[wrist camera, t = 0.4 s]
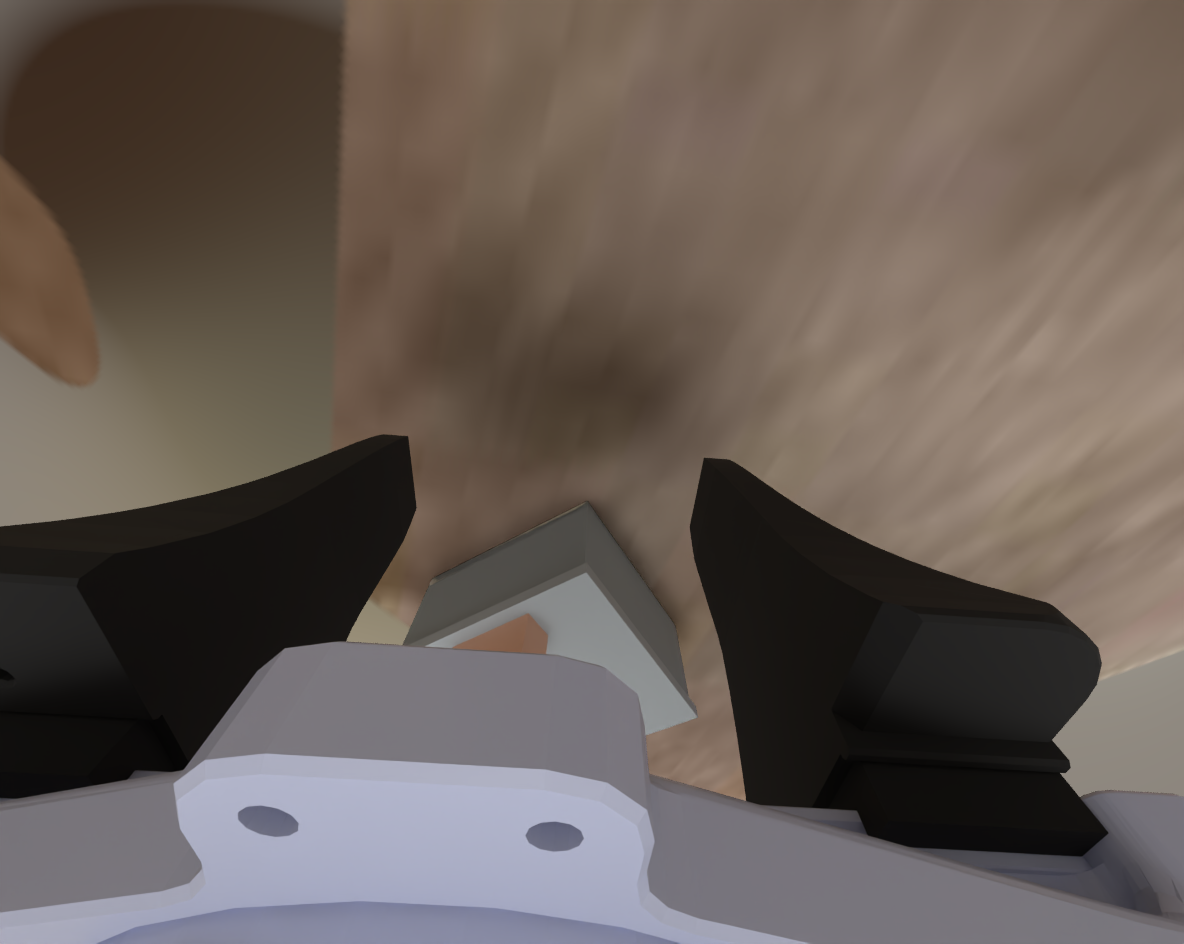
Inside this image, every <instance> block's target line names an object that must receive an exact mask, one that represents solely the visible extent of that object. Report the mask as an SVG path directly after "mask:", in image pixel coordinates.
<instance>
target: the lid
mask: <svg viewBox="0 0 1184 944" xmlns="http://www.w3.org/2000/svg"><path fill="white" fill-rule="evenodd" d="M409 646H425V647H441V648H456V649H472V650H488V651H504V652H520V653H536V654H552V655H560V656H564V657H568V658H572V659H576V660H580V661H584V662H588V663H592V664H596V665H600V666H602V667H604V668H606V669H607V670H609V671H610V672H611V673H612V674H614V675H615V676H616V677H617V678H618V679H620V680H621V681H622V682H623V683H625V684H626V685H627V686H628V687H629V688H631V689H632V690H633V691H634V692H636V693H637V694H638V697H639V702H640V706H641V711H642V715H643V720H644V725H645V735H648V734H651V733H654V732H657V731H660V730H663V729H666V728H669V727H672V726H675V725H677V724H680V723H683V722H686V721H689V720H692V719H695V718H698V715H697V710H696V706H695V705H694V703H693V702H692V701H691V699H690V698H689V697H688V695H687V694H686V693H685V691H684V690H683V689H682V687H681V686H680V685H679V683H678V682H677V681H676V680H675V678H674V677H673V676H672V674H671V673H670V672H669V670H668V669H667V668H666V666H665V665H664V664H663V662H662V661H661V660H660V658H659V657H658V656H657V655H656V653H655V652H654V651H653V649H652V648H651V647H650V645H649V644H648V643H647V641H646V640H645V639H644V637H643V636H642V635H641V633H640V632H639V631H638V630H637V628H636V627H635V626H634V624H633V623H632V622H631V620H630V619H629V618H628V616H627V615H626V614H625V612H624V611H623V610H622V608H621V607H620V606H619V604H618V603H617V602H616V601H615V599H614V598H613V597H612V595H611V594H610V593H609V591H608V590H607V589H606V587H605V586H604V585H603V583H602V582H601V581H600V579H599V578H598V577H597V576H596V574H595V573H594V572H593V570H592V569H591V568H590V566H589V565H588V564H587V563H585V564H582V565H580V566H578V567H576V568H574V569H572V570H569V571H567V572H565V573H563V574H561V575H559V576H556V577H554V578H552V579H550V580H548V581H546V582H544V583H541V584H539V585H537V586H535V587H533V588H531V589H528V590H526V591H524V592H522V593H520V594H518V595H515V596H513V597H511V598H509V599H507V600H505V601H503V602H500V603H498V604H496V605H494V606H492V607H490V608H487V609H485V610H483V611H481V612H479V613H477V614H474V615H472V616H470V617H468V618H466V619H464V620H462V621H459V622H457V623H455V624H453V625H451V626H449V627H446V628H444V629H442V630H440V631H438V632H436V633H433V634H431V635H429V636H427V637H425V638H423V639H420V640H418V641H416V642H414V643H412V644H410V645H409Z"/></svg>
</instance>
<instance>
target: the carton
mask: <svg viewBox="0 0 1184 944" xmlns="http://www.w3.org/2000/svg"><path fill="white" fill-rule="evenodd" d="M585 563H587V564H588V565H589V566H590V568H591V569H592V570H593V572H594V573H595V574H596V576H597V577H598V578H599V579H600V581H601V582H602V583H603V585H604V586H605V587H606V589H607V590H608V591H609V593H610V594H611V595H612V597H613V598H614V599H615V601H616V602H617V603H618V604H619V606H620V607H621V608H622V610H623V611H624V612H625V614H626V615H627V616H628V618H629V619H630V620H631V622H632V623H633V624H634V626H635V627H636V628H637V630H638V631H639V632H640V633H641V635H642V636H643V637H644V639H645V640H646V641H647V643H648V644H649V645H650V647H651V648H652V649H653V651H654V652H655V653H656V655H657V656H658V657H659V658H660V660H661V661H662V662H663V664H664V665H665V666H666V668H667V669H668V670H669V672H670V673H671V674H672V676H673V677H674V678H675V680H676V681H677V682H678V683H679V685H680V686H681V687H682V689H683V690H684V691H685V693H686V694H687V695H688V690H687V685H686V680H685V674H684V669H683V664H682V658H681V653H680V648H679V642H678V637H677V632H676V626H675V625H674V623H673V622H672V620H671V619H670V618H669V616H668V615H667V613H666V612H665V611H664V609H663V608H662V606H661V605H660V603H659V602H658V601H657V599H656V598H655V596H654V595H653V594H652V592H651V591H650V589H649V588H648V586H647V585H646V584H645V582H644V581H643V579H642V578H641V576H640V575H639V574H638V572H637V571H636V569H635V568H634V567H633V565H632V564H631V562H630V561H629V559H628V558H627V557H626V555H625V554H624V552H623V551H622V550H621V548H620V547H619V545H618V544H617V542H616V541H615V540H614V538H613V537H612V535H611V534H610V532H609V531H608V530H607V528H606V527H605V525H604V524H603V523H602V521H601V520H600V518H599V517H598V515H597V514H596V513H595V511H594V510H593V508H592V507H591V505H590V504H589V503H588V501H586V502H584V503H582V504H580V505H578V506H576V507H574V508H572V509H570V510H568V511H566V512H564V513H562V514H560V515H558V516H556V517H554V518H552V519H550V520H548V521H546V522H544V523H542V524H540V525H538V526H536V527H534V528H532V529H530V530H528V531H526V532H524V533H522V534H520V535H518V536H516V537H514V538H512V539H510V540H508V541H506V542H504V543H502V544H500V545H498V546H496V547H494V548H492V549H490V550H488V551H486V552H484V553H482V554H480V555H478V556H476V557H474V558H472V559H470V560H468V561H466V562H464V563H462V564H460V565H458V566H456V567H454V568H452V569H450V570H448V571H446V572H444V573H443V574H441V575H439V576H437V577H435V578H433V579H432V580H431V582H430V585H429V587H428V589H427V591H426V594H425V596H424V598H423V600H422V603H421V605H420V607H419V609H418V611H417V614H416V616H415V618H414V620H413V623H412V625H411V627H410V629H409V632H408V634H407V636H406V638H405V640H404V643H403V645H410V644H412V643H414V642H416V641H418V640H420V639H423V638H425V637H427V636H429V635H431V634H433V633H436V632H438V631H440V630H442V629H444V628H446V627H449V626H451V625H453V624H455V623H457V622H459V621H462V620H464V619H466V618H468V617H470V616H472V615H474V614H477V613H479V612H481V611H483V610H485V609H487V608H490V607H492V606H494V605H496V604H498V603H500V602H503V601H505V600H507V599H509V598H511V597H513V596H515V595H518V594H520V593H522V592H524V591H526V590H528V589H531V588H533V587H535V586H537V585H539V584H541V583H544V582H546V581H548V580H550V579H552V578H554V577H556V576H559V575H561V574H563V573H565V572H567V571H569V570H572V569H574V568H576V567H578V566H580V565H582V564H585ZM688 697H689V696H688Z"/></svg>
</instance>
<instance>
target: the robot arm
mask: <svg viewBox="0 0 1184 944" xmlns="http://www.w3.org/2000/svg"><path fill="white" fill-rule="evenodd" d="M416 508H417V507H416V499H415V491H414V482H413V474H412V465H411V457H410V449H409V440H408V436H397V435H378V436H374V437H371V438H368V439H365V440H362V441H359V442H357V443H354V444H352V445H349V446H347V447H344V448H342V449H339V450H337V451H334V452H332V453H329V454H327V455H324V456H322V457H319V458H317V459H314V460H312V461H309V462H306V463H303V464H301V465H298V466H295V467H292V468H290V469H287V470H284V471H281V472H279V473H276V474H273V475H270V476H268V477H264V478H261V479H258V480H255V481H252V482H249V483H246V484H242V485H239V486H235V487H231V488H228V489H224V490H221V491H217V492H213V493H209V494H206V495H201V496H196V497H192V498H187V499H182V500H178V501H173V502H169V503H164V504H159V505H155V506H150V507H145V508H139V509H133V510H127V511H122V512H115V513H109V514H103V515H96V516H89V517H82V518H75V519H67V520H59V521H51V522H42V523H32V524H22V525H12V526H2V527H0V944H1184V797H1183V796H1179V795H1175V794H1167V793H1151V792H1150V793H1149V792H1133V791H1132V792H1131V791H1114V790H1105V791H1095V792H1092V793H1089V794H1086V795H1083V796H1081V797H1079V796H1078V795H1077V794H1076V792H1075V791H1074V790H1073V789H1072V787H1071V786H1070V785H1069V784H1068V783H1067V782H1066V780H1065V779H1064V778H1063V777H1062V775H1061V774H1060V773H1066V772H1067V771H1068V770H1069V769H1070V762H1069V760H1068V759H1067V757H1066V756H1065V755H1064V754H1063V753H1062V751H1061V750H1060V749H1059V748H1058V747H1057V746H1056V744H1055V743H1054V742H1053V741H1052V739H1053V738H1054V737H1055V736H1056V734H1057V733H1058V732H1059V731H1060V730H1061V729H1062V728H1063V726H1064V725H1065V724H1066V723H1067V722H1068V721H1069V719H1070V718H1071V717H1072V716H1073V715H1074V714H1075V713H1076V711H1077V710H1078V709H1079V708H1080V707H1081V706H1082V705H1083V703H1084V702H1085V701H1086V700H1087V698H1088V697H1089V695H1090V694H1091V692H1092V691H1093V689H1094V688H1095V686H1096V685H1097V681H1098V677H1099V673H1100V669H1101V664H1102V662H1101V658H1100V654H1099V649H1098V647H1097V646H1096V645H1095V644H1094V643H1093V641H1092V640H1091V639H1090V638H1089V637H1088V636H1087V635H1086V634H1085V633H1084V632H1083V631H1082V630H1080V629H1079V628H1078V627H1077V626H1076V625H1075V624H1074V623H1072V622H1071V621H1070V620H1069V619H1068V618H1067V617H1066V616H1064V615H1063V614H1062V613H1061V612H1060V611H1059V610H1058V609H1056V608H1055V607H1054V606H1052V605H1051V604H1049V603H1046V602H1043V601H1039V600H1035V599H1031V598H1028V597H1024V596H1020V595H1017V594H1013V593H1009V592H1006V591H1002V590H998V589H995V588H991V587H987V586H984V585H980V584H977V583H973V582H970V581H967V580H964V579H961V578H958V577H955V576H952V575H949V574H946V573H943V572H940V571H937V570H934V569H931V568H928V567H925V566H923V565H920V564H917V563H915V562H912V561H909V560H907V559H904V558H902V557H899V556H897V555H894V554H892V553H890V552H887V551H885V550H882V549H880V548H878V547H875V546H873V545H871V544H869V543H866V542H864V541H862V540H860V539H858V538H856V537H854V536H852V535H850V534H848V533H846V532H844V531H842V530H840V529H838V528H836V527H834V526H832V525H830V524H829V523H827V522H825V521H823V520H821V519H820V518H818V517H816V516H815V515H813V514H811V513H810V512H808V511H806V510H805V509H803V508H801V507H800V506H798V505H797V504H795V503H794V502H792V501H790V500H789V499H787V498H786V497H784V496H783V495H781V494H780V493H778V492H777V491H776V490H774V489H773V488H771V487H770V486H768V485H767V484H766V483H764V482H763V481H761V480H760V479H758V478H757V477H756V476H754V475H753V474H751V473H750V472H748V471H747V470H746V469H744V468H743V467H741V466H739V465H738V464H736V463H735V462H733V461H731V460H727V459H713V458H704V461H703V466H702V470H701V475H700V480H699V485H698V490H697V494H696V499H695V504H694V509H693V514H692V518H691V523H690V533H691V540H692V547H693V553H694V559H695V563H696V566H697V570H698V573H699V576H700V580H701V583H702V586H703V589H704V593H705V596H706V599H707V602H708V605H709V609H710V612H711V615H712V618H713V621H714V624H715V628H716V631H717V634H718V638H719V642H720V645H721V649H722V653H723V659H724V664H725V669H726V674H727V680H728V685H729V690H730V696H731V702H732V708H733V714H734V720H735V726H736V732H737V738H738V745H739V752H740V759H741V766H742V772H743V779H744V786H745V794H746V801H744V800H740V799H737V798H733V797H730V796H726V795H723V794H719V793H716V792H712V791H709V790H705V789H702V788H698V787H694V786H691V785H687V784H684V783H680V782H677V781H673V780H670V779H666V778H663V777H659V776H656V775H652V774H649V769H648V758H647V746H646V735H645V725H644V720H643V715H642V711H641V706H640V702H639V697H638V694H637V693H636V692H634V691H633V690H632V689H631V688H629V687H628V686H627V685H626V684H625V683H623V682H622V681H621V680H620V679H618V678H617V677H616V676H615V675H614V674H612V673H611V672H610V671H609V670H607V669H606V668H604V667H602V666H600V665H596V664H592V663H588V662H584V661H580V660H576V659H572V658H568V657H564V656H560V655H552V654H536V653H520V652H504V651H488V650H472V649H456V648H441V647H425V646H409V645H392V644H377V643H375V644H374V643H361V642H360V643H359V642H346V640H347V638H348V635H349V633H350V631H351V629H352V627H353V625H354V623H355V622H356V620H357V618H358V616H359V614H360V612H361V611H362V609H363V607H364V606H365V604H366V602H367V601H368V599H369V597H370V596H371V594H372V593H373V591H374V589H375V588H376V586H377V584H378V583H379V581H380V579H381V578H382V576H383V574H384V573H385V571H386V569H387V568H388V566H389V564H390V563H391V561H392V559H393V558H394V556H395V554H396V553H397V551H398V549H399V548H400V546H401V544H402V542H403V541H404V538H405V536H406V534H407V531H408V529H409V526H410V524H411V521H412V519H413V516H414V513H415V511H416Z"/></svg>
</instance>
